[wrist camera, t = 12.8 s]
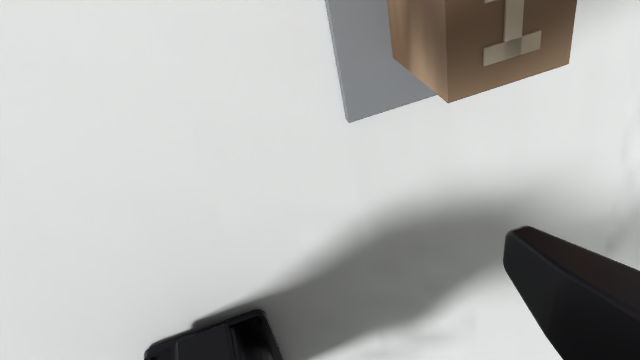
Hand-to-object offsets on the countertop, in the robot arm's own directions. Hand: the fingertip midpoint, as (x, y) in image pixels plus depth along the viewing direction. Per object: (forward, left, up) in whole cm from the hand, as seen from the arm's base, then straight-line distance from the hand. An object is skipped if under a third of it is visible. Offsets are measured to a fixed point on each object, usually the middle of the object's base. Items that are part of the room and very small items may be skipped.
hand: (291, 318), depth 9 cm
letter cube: (+1, -9, -11) cm, 15 cm away
